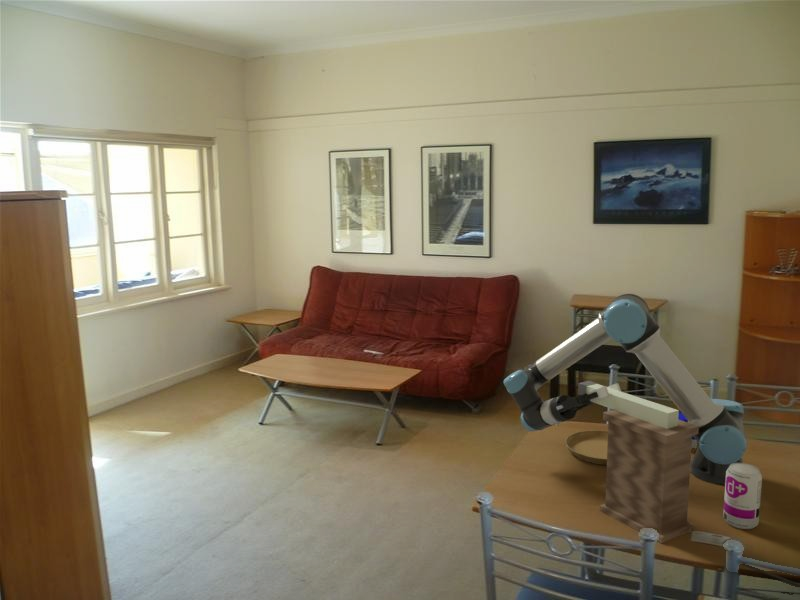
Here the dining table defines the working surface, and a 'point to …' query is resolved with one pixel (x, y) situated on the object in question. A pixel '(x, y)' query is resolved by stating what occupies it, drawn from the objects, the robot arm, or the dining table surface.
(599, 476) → the dining table surface
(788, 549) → the dining table surface
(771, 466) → the dining table surface
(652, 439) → the stand
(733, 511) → the supplement can
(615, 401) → the bar
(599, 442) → the plant saucer
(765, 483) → the dining table surface
